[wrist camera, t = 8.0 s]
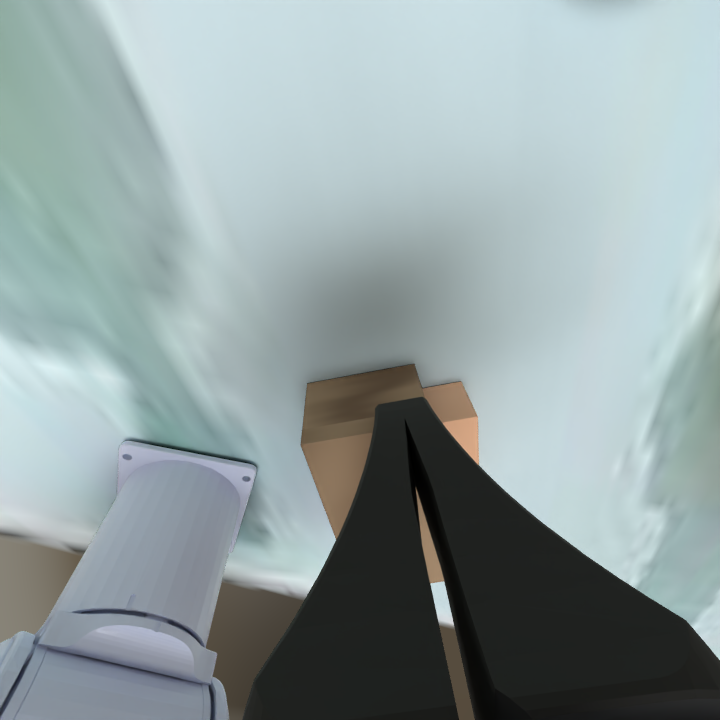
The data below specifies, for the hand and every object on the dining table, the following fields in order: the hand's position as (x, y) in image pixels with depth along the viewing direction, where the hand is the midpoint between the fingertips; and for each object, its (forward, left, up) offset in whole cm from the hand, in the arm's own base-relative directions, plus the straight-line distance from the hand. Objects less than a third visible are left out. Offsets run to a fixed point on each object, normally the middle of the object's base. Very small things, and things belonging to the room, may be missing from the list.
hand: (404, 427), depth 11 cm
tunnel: (-10, -4, -9) cm, 15 cm away
